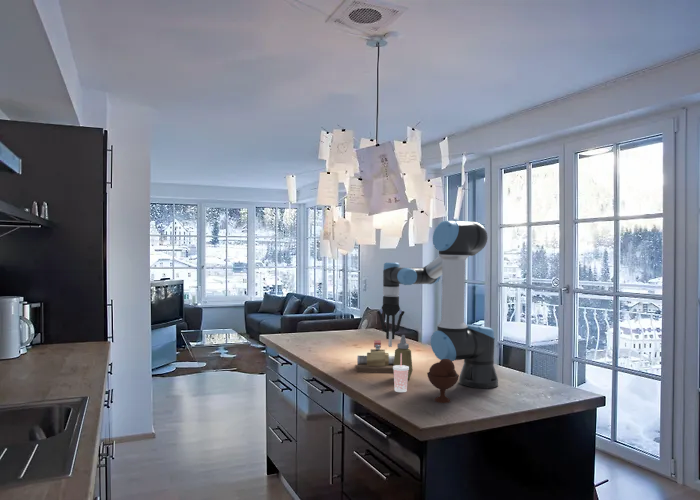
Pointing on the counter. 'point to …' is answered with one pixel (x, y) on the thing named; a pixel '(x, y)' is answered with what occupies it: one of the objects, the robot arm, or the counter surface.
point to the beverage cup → (400, 377)
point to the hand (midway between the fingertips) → (390, 346)
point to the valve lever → (377, 344)
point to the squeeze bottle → (403, 355)
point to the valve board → (374, 368)
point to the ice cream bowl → (443, 378)
